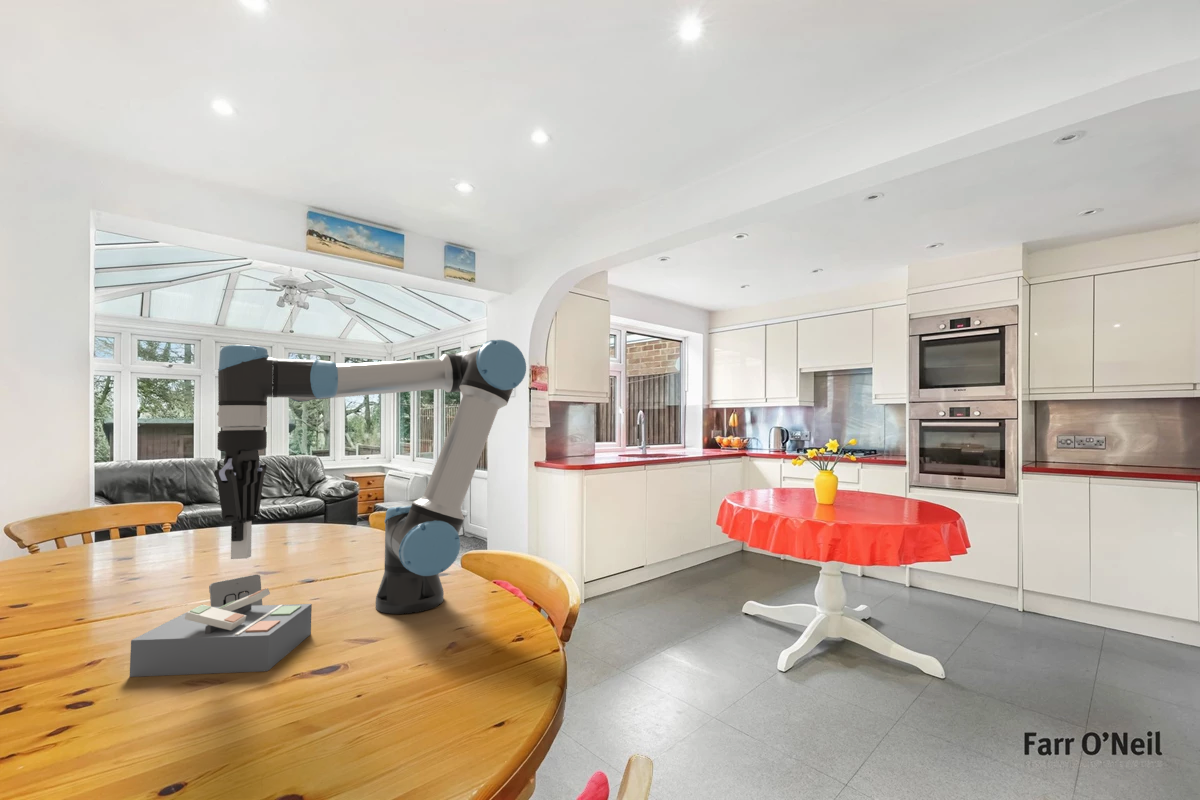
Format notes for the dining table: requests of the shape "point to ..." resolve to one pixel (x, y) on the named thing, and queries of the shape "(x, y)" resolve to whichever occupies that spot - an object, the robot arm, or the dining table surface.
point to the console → (221, 643)
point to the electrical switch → (234, 590)
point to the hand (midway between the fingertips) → (241, 557)
